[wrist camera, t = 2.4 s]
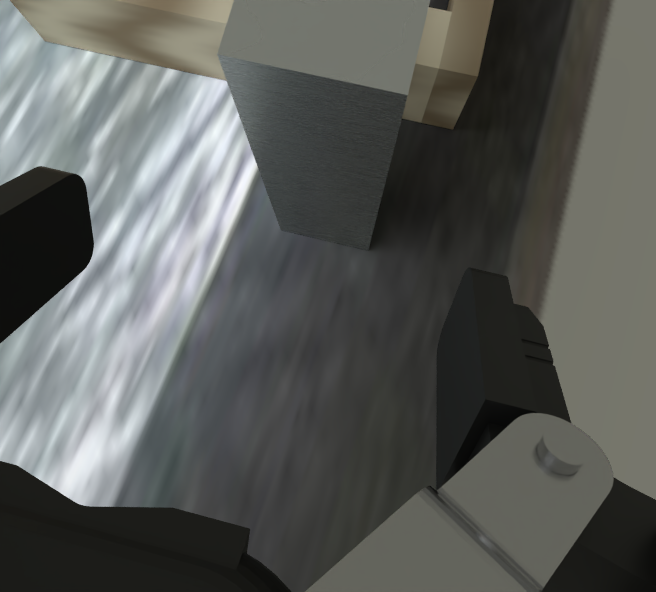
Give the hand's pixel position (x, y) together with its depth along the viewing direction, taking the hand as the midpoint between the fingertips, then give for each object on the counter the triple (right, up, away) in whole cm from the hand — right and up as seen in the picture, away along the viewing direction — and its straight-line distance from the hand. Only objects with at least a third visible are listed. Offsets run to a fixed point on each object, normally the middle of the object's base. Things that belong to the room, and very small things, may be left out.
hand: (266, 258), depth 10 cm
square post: (+2, +4, +12) cm, 12 cm away
